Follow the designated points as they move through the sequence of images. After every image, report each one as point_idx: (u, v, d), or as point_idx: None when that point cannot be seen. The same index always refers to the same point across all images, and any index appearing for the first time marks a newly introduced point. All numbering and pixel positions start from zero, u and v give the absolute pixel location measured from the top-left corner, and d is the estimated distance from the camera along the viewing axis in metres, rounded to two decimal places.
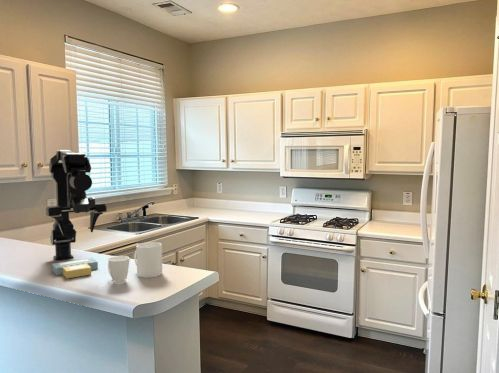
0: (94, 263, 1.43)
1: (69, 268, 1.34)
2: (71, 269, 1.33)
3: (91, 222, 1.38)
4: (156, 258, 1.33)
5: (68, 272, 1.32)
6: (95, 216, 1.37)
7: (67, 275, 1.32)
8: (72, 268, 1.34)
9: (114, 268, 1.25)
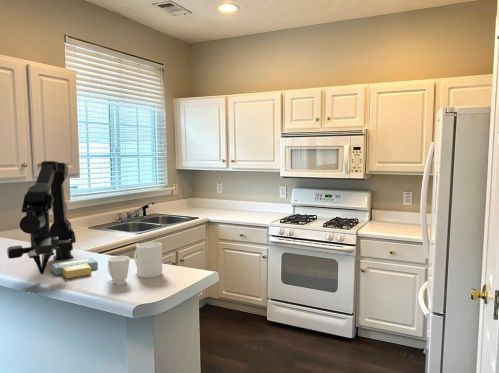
0: (94, 263, 1.43)
1: (69, 268, 1.34)
2: (71, 269, 1.33)
3: (42, 263, 1.30)
4: (156, 258, 1.33)
5: (68, 272, 1.32)
6: (46, 257, 1.28)
7: (67, 275, 1.32)
8: (72, 268, 1.34)
9: (114, 268, 1.25)
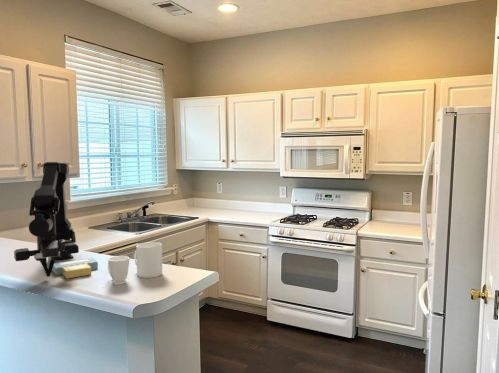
0: (94, 263, 1.43)
1: (69, 268, 1.34)
2: (71, 269, 1.33)
3: (48, 266, 1.31)
4: (156, 258, 1.33)
5: (68, 272, 1.32)
6: (52, 260, 1.29)
7: (67, 275, 1.32)
8: (72, 268, 1.34)
9: (114, 268, 1.25)
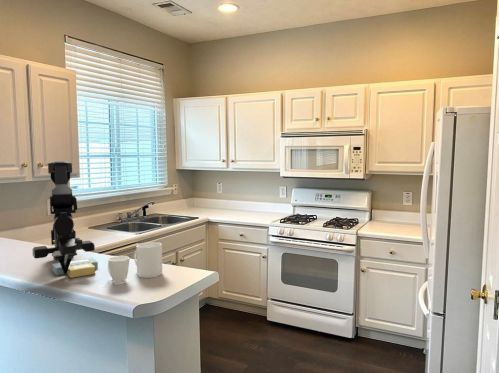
0: (94, 263, 1.43)
1: (73, 268, 1.35)
2: (75, 268, 1.34)
3: (65, 263, 1.34)
4: (156, 258, 1.33)
5: (72, 271, 1.32)
6: (69, 257, 1.33)
7: (71, 274, 1.32)
8: (76, 267, 1.35)
9: (114, 268, 1.25)
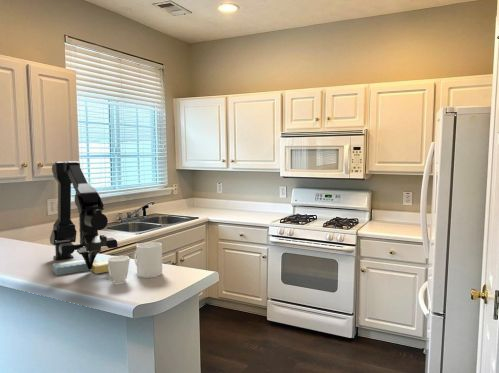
0: None
1: (96, 264, 1.40)
2: (99, 265, 1.39)
3: (90, 259, 1.39)
4: (156, 258, 1.33)
5: (96, 267, 1.37)
6: (93, 254, 1.37)
7: (95, 270, 1.37)
8: (100, 264, 1.40)
9: (114, 268, 1.25)
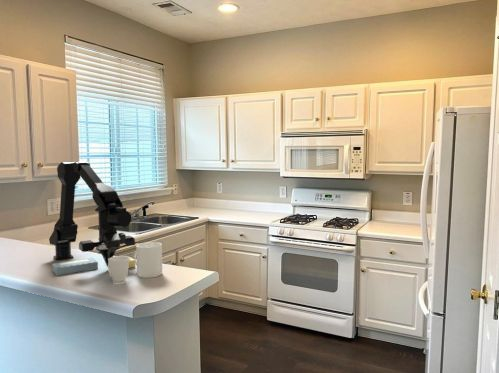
0: (94, 263, 1.43)
1: None
2: None
3: (108, 256, 1.42)
4: (156, 258, 1.33)
5: None
6: (112, 251, 1.41)
7: None
8: None
9: (114, 268, 1.25)
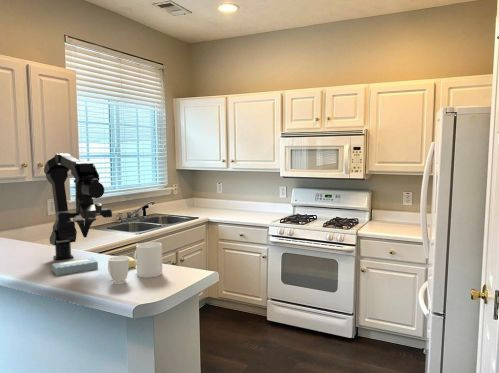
0: (94, 263, 1.43)
1: None
2: None
3: (85, 228, 1.45)
4: (156, 258, 1.33)
5: None
6: (89, 222, 1.43)
7: None
8: None
9: (114, 268, 1.25)
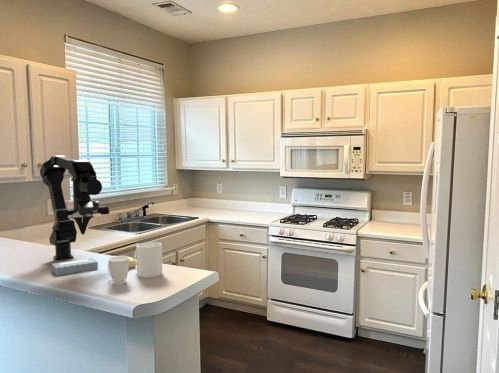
0: (94, 263, 1.43)
1: None
2: None
3: (83, 225, 1.47)
4: (156, 258, 1.33)
5: None
6: (87, 219, 1.46)
7: None
8: None
9: (114, 268, 1.25)
